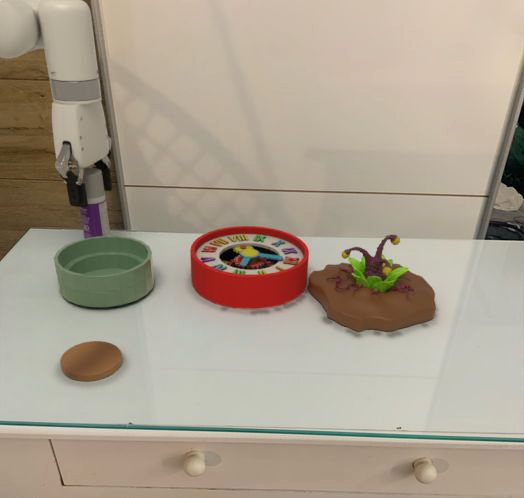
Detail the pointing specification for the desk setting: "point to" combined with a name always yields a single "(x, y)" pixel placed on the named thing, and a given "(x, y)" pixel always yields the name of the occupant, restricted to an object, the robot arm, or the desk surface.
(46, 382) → the desk surface
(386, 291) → the plant
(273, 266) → the toy clock
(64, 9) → the robot arm
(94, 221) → the container
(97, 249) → the bowl
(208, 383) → the desk surface
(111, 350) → the coaster
